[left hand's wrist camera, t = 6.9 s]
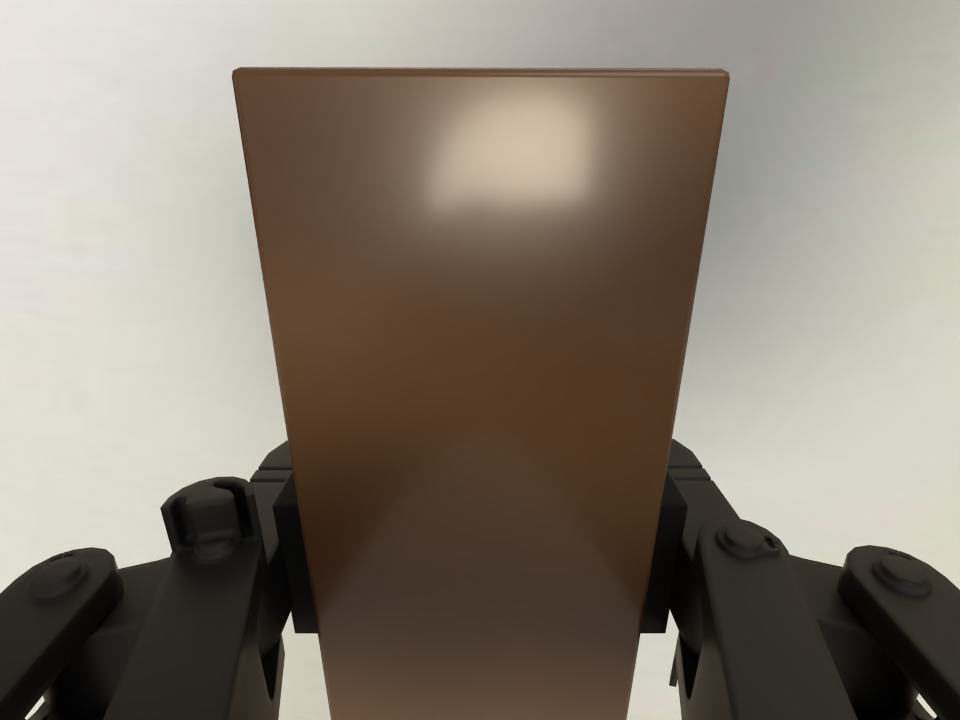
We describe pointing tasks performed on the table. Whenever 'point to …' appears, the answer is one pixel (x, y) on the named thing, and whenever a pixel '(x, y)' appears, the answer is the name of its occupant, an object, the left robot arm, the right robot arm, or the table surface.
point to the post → (479, 365)
